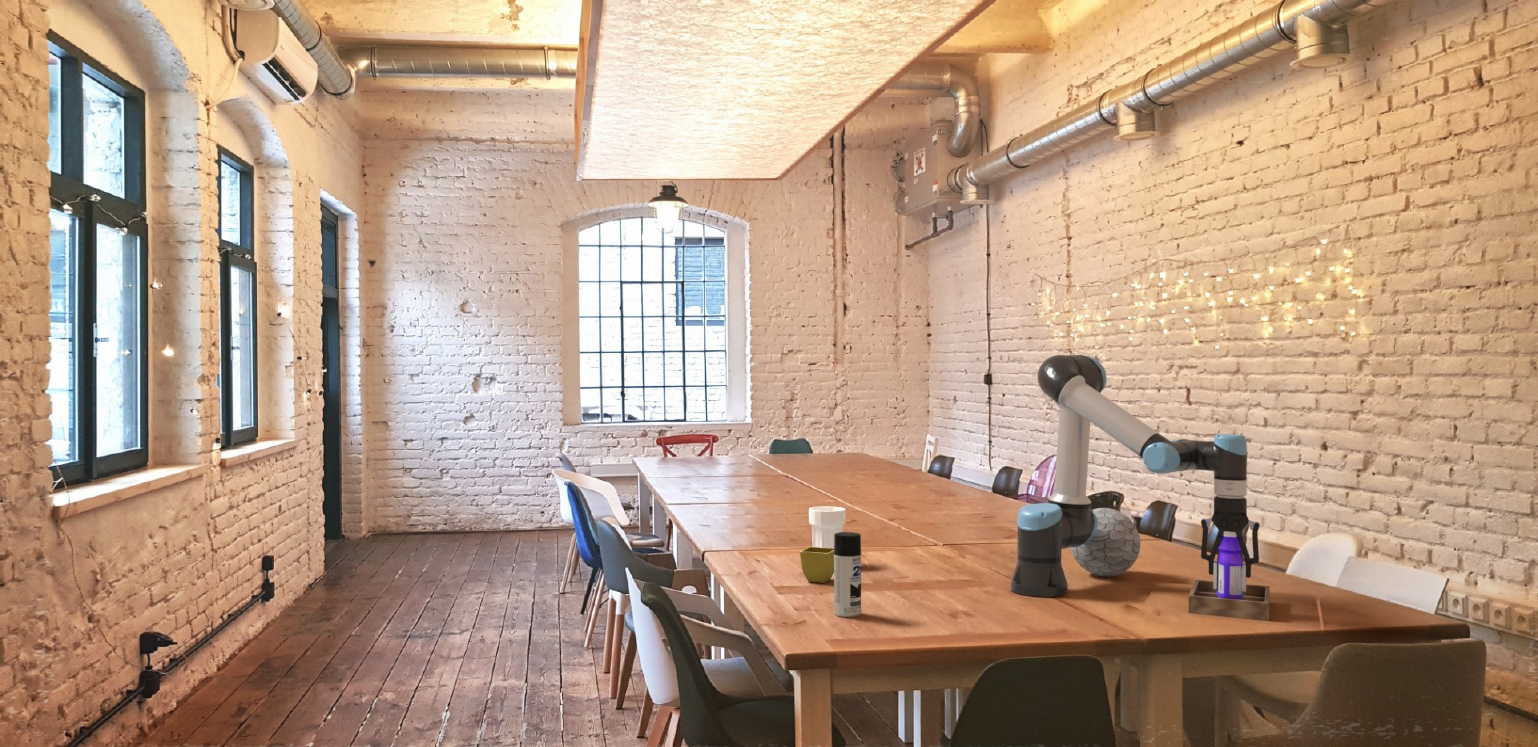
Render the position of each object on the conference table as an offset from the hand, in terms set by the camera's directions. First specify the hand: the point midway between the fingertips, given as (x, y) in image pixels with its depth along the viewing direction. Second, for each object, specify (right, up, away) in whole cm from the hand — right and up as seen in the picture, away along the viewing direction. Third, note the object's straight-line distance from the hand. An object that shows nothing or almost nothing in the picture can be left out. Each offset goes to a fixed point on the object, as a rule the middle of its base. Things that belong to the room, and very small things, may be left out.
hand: (1229, 588), depth 265 cm
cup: (-97, -5, +62) cm, 115 cm away
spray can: (-95, -6, -2) cm, 96 cm away
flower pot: (-100, -6, +38) cm, 108 cm away
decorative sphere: (-16, -6, +48) cm, 51 cm away
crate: (+2, -6, +5) cm, 8 cm away
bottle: (0, -3, 0) cm, 3 cm away
